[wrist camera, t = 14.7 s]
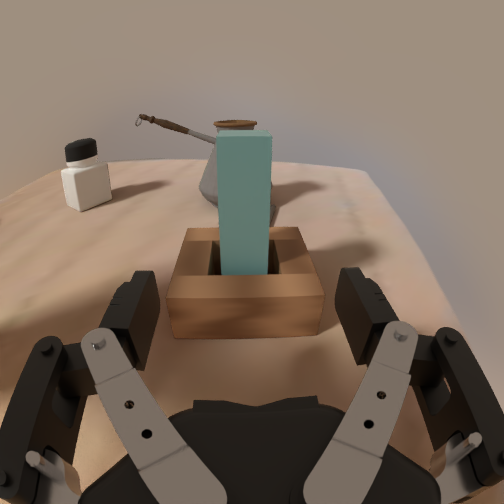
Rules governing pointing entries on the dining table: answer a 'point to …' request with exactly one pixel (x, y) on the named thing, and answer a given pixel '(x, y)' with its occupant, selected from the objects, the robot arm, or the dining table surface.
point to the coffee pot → (210, 174)
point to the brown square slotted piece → (244, 291)
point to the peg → (244, 200)
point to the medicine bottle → (85, 176)
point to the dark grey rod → (272, 211)
